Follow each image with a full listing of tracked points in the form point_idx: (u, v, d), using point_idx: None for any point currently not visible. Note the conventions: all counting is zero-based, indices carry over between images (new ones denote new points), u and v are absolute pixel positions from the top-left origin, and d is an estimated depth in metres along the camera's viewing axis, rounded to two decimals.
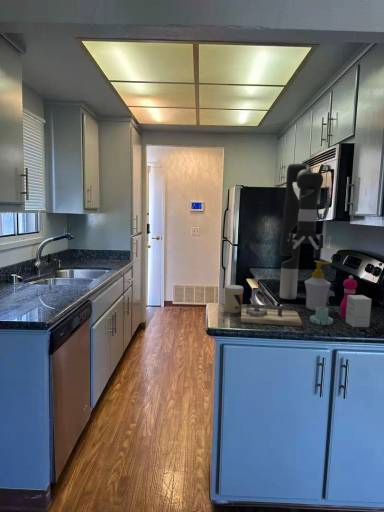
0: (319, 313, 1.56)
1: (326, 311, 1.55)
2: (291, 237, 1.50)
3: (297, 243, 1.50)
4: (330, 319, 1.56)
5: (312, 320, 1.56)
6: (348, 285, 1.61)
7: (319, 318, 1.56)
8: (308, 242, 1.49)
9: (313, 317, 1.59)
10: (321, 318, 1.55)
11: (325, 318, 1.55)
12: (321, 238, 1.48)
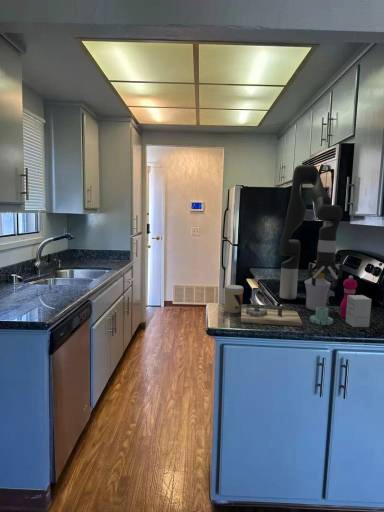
0: (319, 313, 1.56)
1: (326, 311, 1.55)
2: (311, 267, 1.54)
3: (317, 273, 1.54)
4: (330, 319, 1.56)
5: (312, 320, 1.56)
6: (348, 285, 1.61)
7: (319, 318, 1.56)
8: (327, 272, 1.54)
9: (313, 317, 1.59)
10: (321, 318, 1.55)
11: (325, 318, 1.55)
12: (340, 268, 1.53)
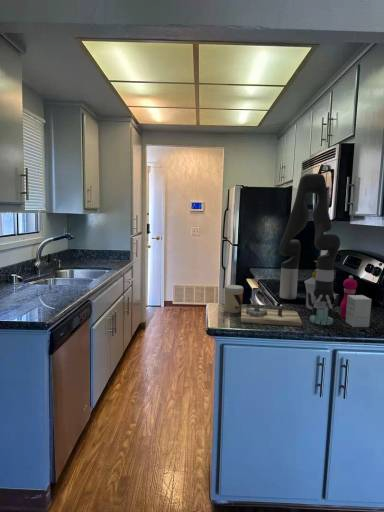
0: (319, 313, 1.56)
1: (326, 311, 1.55)
2: (309, 297, 1.56)
3: (316, 302, 1.56)
4: (330, 319, 1.56)
5: (312, 320, 1.56)
6: (348, 285, 1.61)
7: (319, 318, 1.56)
8: (324, 300, 1.56)
9: (313, 317, 1.59)
10: (321, 318, 1.55)
11: (325, 318, 1.55)
12: (337, 298, 1.55)
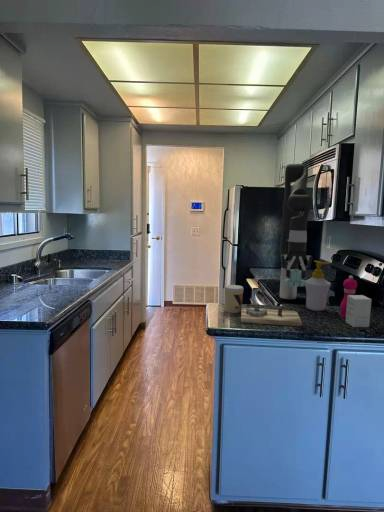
0: (293, 275, 1.54)
1: (299, 273, 1.54)
2: (283, 258, 1.55)
3: (290, 264, 1.54)
4: (304, 281, 1.55)
5: (286, 282, 1.55)
6: (348, 285, 1.61)
7: (292, 280, 1.54)
8: (297, 261, 1.54)
9: (287, 280, 1.57)
10: (294, 280, 1.54)
11: (298, 280, 1.54)
12: (310, 260, 1.53)
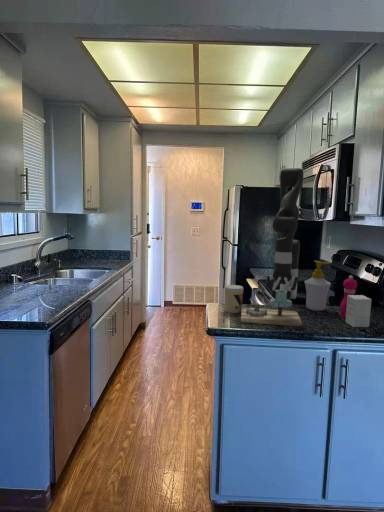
0: (278, 296, 1.56)
1: (285, 293, 1.56)
2: (268, 279, 1.57)
3: (275, 284, 1.56)
4: (289, 302, 1.57)
5: (271, 302, 1.57)
6: (348, 285, 1.61)
7: (278, 300, 1.56)
8: (283, 282, 1.56)
9: (273, 300, 1.59)
10: (280, 300, 1.56)
11: (284, 300, 1.56)
12: (295, 280, 1.55)
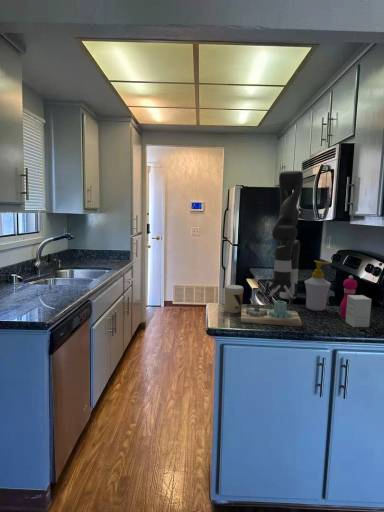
0: (277, 307, 1.57)
1: (284, 305, 1.56)
2: (267, 286, 1.57)
3: (273, 291, 1.57)
4: (288, 313, 1.58)
5: (270, 314, 1.58)
6: (348, 285, 1.61)
7: (277, 312, 1.57)
8: (283, 290, 1.57)
9: (272, 311, 1.60)
10: (279, 312, 1.57)
11: (283, 312, 1.57)
12: (296, 287, 1.56)
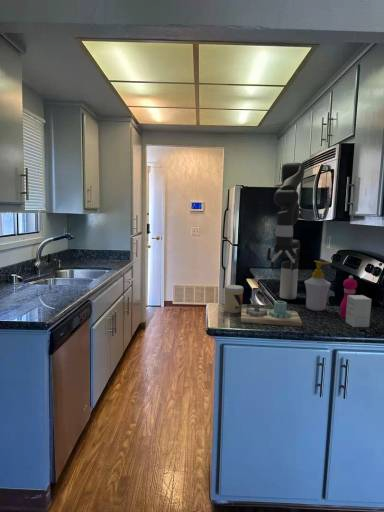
0: (277, 307, 1.57)
1: (284, 305, 1.56)
2: (269, 251, 1.59)
3: (275, 257, 1.58)
4: (288, 313, 1.58)
5: (270, 314, 1.58)
6: (348, 285, 1.61)
7: (277, 312, 1.57)
8: (285, 256, 1.58)
9: (272, 311, 1.60)
10: (279, 312, 1.57)
11: (283, 312, 1.57)
12: (297, 252, 1.57)
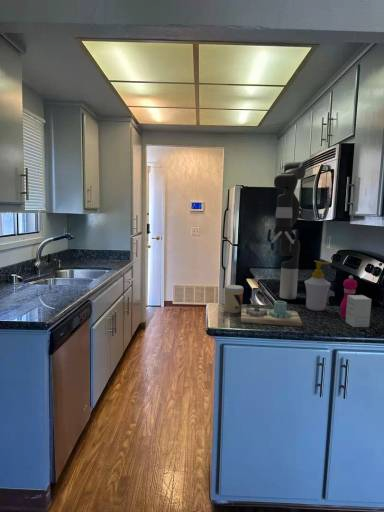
0: (277, 307, 1.57)
1: (284, 305, 1.56)
2: (269, 232, 1.66)
3: (275, 238, 1.65)
4: (288, 313, 1.58)
5: (270, 314, 1.58)
6: (348, 285, 1.61)
7: (277, 312, 1.57)
8: (285, 237, 1.65)
9: (272, 311, 1.60)
10: (279, 312, 1.57)
11: (283, 312, 1.57)
12: (296, 233, 1.64)
